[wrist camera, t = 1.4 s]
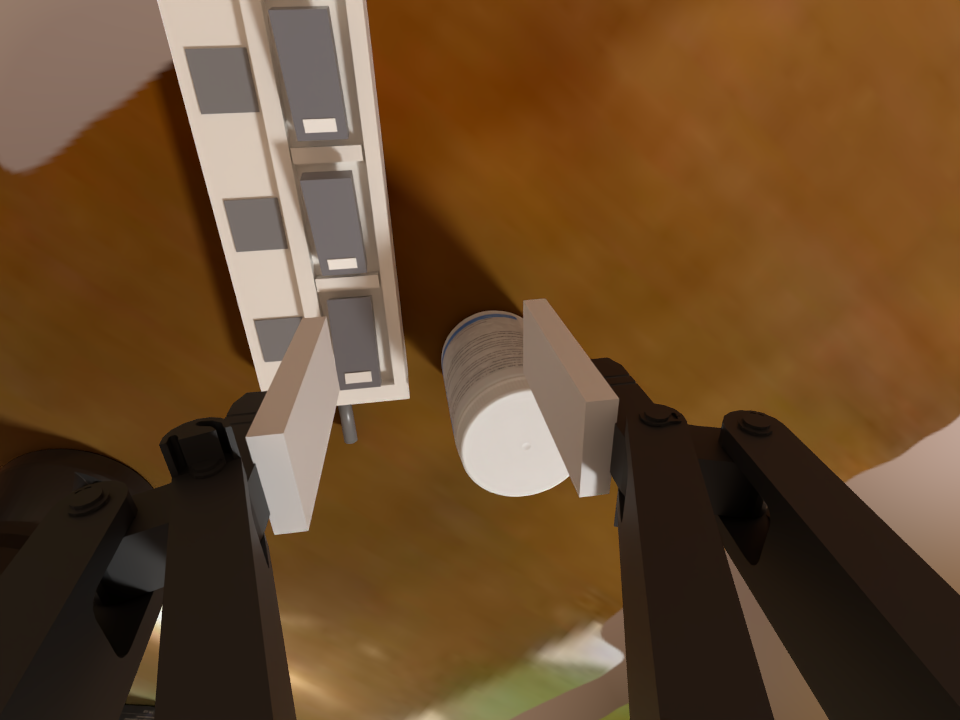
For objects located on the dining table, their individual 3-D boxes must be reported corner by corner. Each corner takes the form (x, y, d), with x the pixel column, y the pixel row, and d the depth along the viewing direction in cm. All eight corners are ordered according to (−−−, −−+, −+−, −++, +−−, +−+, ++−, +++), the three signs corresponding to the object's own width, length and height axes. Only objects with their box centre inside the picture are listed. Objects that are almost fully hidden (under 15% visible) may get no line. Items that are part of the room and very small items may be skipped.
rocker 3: (341, 385, 40) (338, 390, 39) (329, 298, 39) (326, 300, 37) (381, 381, 41) (380, 386, 39) (371, 295, 39) (370, 297, 38)
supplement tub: (423, 374, 48) (430, 474, 35) (472, 288, 45) (500, 363, 32) (508, 410, 51) (544, 515, 38) (560, 333, 48) (618, 418, 35)
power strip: (289, 437, 49) (278, 470, 44) (175, -21, 33) (139, -41, 28) (414, 424, 50) (415, 455, 46) (365, -23, 34) (359, -42, 29)
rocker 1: (300, 134, 34) (297, 141, 33) (272, 6, 29) (267, 10, 28) (349, 132, 34) (348, 139, 33) (328, 5, 29) (326, 9, 28)
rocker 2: (324, 266, 38) (322, 276, 37) (302, 172, 33) (299, 181, 32) (367, 263, 38) (366, 273, 37) (352, 170, 33) (350, 178, 32)
